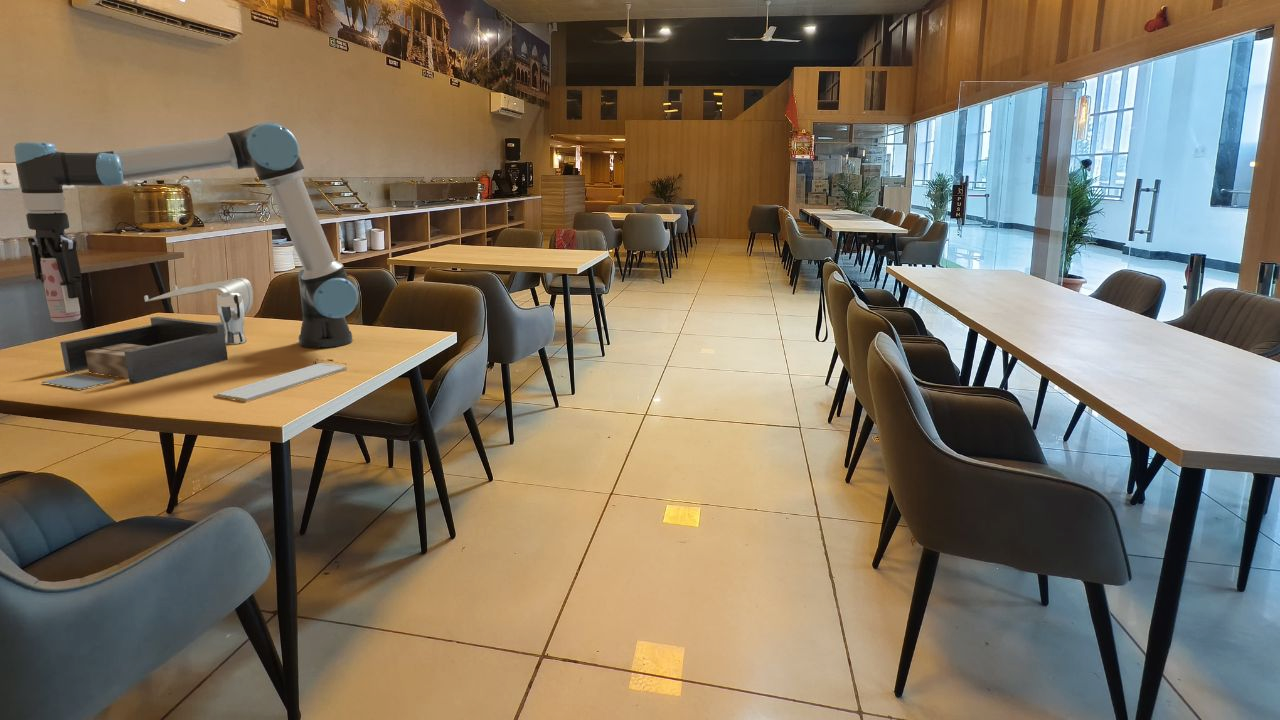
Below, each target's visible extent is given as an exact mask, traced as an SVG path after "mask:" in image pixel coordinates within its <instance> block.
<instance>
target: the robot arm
mask: <svg viewBox="0 0 1280 720" xmlns="http://www.w3.org/2000/svg"><path fill="white" fill-rule="evenodd" d="M13 151H14V158H15V167H16V170H17V175H18V179H19V180H18V181H19V185H20V189H21V195H22V201H23V205H24V206H23V208H24V210H25V211H27V213H26V214H25V217H26V221H27V223H26V224H27V226H28V229H29V230H31V231H32V230H33V231H35V237H28V238H27V242H28V246H29V247H30V253H31V258H32V264H33V265H32V266H33V270H34V276H35V279H36V280H38V281H41V283H42V284H43V286H44V288H45V285H44V279H43V274H42V268H41V263H40V262H41V258H42V257H43V258H53V257H54V258H56V262H57V265H58V270H59V272H60V275H61V278H62V281H63V283H60V285H61V287H62V293H63V298H64V304H65V309H66V313H70V312H77V311H80V312H81V307H80V301H79V295H78V289H77V284H78V283H80V282H83V278H82V277H83V276H82V271H81V266H80V262H79V257H78V252H77V251H78V250H77V240H76V239H69V238H68V237H67V235H66V233H65V230H68V229H70V221H69V216H68V214H67V212H64V211H65V210H67V206H66V202H65V201H66V198H65V195H64V189H63V186H66V187H67V186H69V187H70V186H87V187H88V186H90V187H91V186H93V187H96V186H97V187H98V186H99V187H100V186H101V187H103V186H104V187H112V186H113V187H116V186H122V185H123V184H124V181H133V180H137V179H138V180H139V179H140V180H141V179H146V178H147V179H148V178H156V177H163V176H168V175H169V176H170V175H175V174H176V175H177V174H184V173H191V172H199V171H207V170H213V169H220V168H229V167H231V168H233V169H235V170H242V169H243V170H244V169H254V171H255V172H256V175H257V177H258V180H259V182H260V183H262V184H264V185H266V186H267V187H268V188H269V190H270V192H271V193H270V194H271V195H272V198H273V200H274V202H275V204H276V206H277V209H278V212H279V213H280V217H281V219H282V221H283V223H284V226H285V228H286V231H287V233H288V235H289V237H290V239H291V240H290V241H291V242H292V244H293V247H294V249H295V251H296V254H297V256H298V259H299V261H300V264H301V266H302V268H301V269H300V270H299V271H298V279H297V281H298V283H299V293H300V294H299V295H300V302H301V303H300V304H301V309H302V310H301V312H302V323H301V327H300V334H299V335H298V344H299V346H300V345H301V347H303V346H305V348H310V347H319V348H318V349H320V347H323V349H324V347H325V348H333V347H334V346H335V347H340V346H344V345H348V344H351V343H352V342H353V340H354V339H353V333H352V331H351V330H350V327H349V325H348V322H347V319H346V316H348V315H350V314H351V313H352V312H353V311H354V310H355V308H356V307H357V305H358V301H359V294H358V291H357V288H356V286H355V284H354V283H352V281H350V278H349V277H348V274H347V272H346V269H345V266H344V264H343V263H341V262H338V260H336V259H335V257H334V254H333V252H332V250H331V249H332V248H331V247H330V245H329V241H328V240H327V236H326V234H325V232H324V229H323V227H322V225H321V222H320V220H319V217H318V215H317V213H316V210H315V208H314V205H313V202H312V199H311V197H310V196H309V193H308V190H307V188H306V186H305V183H304V180H303V175H304V172H305V171H306V169H305V167H304V165H303V162H302V159H301V157H300V146H299V143H298V140H297V138H296V137H295V135H294V134H293V132H292V131H290V130H289V129H288V128H286V126H285V127H284V126H283V125H281V124H278V123H274V122H262V123H259V124H257V125H253V126H251V127H248V128H246V129H241V130H237V131H233V132H226V133H224V134H223V136H222V137H218V138H217V137H215V138H207V139H199V140H190V141H183V142H175V143H173V142H172V143H168V144H167V143H166V144H158V145H150V146H142V147H135V148H133V147H132V148H125V149H117V150H110V151H109V150H108V151H99V152H66V151H65V152H64V151H63V152H62V151H58V149H57V148H56V145H55V144H54V143H52V142H51V143H50V142H23V141H22V142H17V143H15V144H14V146H13ZM44 290H45V289H44ZM44 292H45V297H46V298H47V295H46V290H45V291H44ZM46 301H47V300H46ZM46 303H47V304H48V301H47V302H46ZM47 308H48V309H49V306H48V305H47Z"/></svg>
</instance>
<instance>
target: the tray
mask: <svg viewBox="0 0 1280 720" xmlns="http://www.w3.org/2000/svg"><path fill="white" fill-rule="evenodd" d="M149 319H150V324H147V325H144V326H143V325H142V326H138V327H137V326H136V327H132V328H128V329H127V328H126V329H122V330H117V331H111V332H106V333H102V334H101V333H99V334H95V335H90V336H84V337H79V338H75V339H74V338H73V339H68V340H63V341H60V349H61V354H62V358H63V364H64V369H65V370H64V371H65V372H66V371H67V372H66V373H68V372H73V373H76V372H75V371H78V372H80V371H79V370H82V371H84V370H83V369H87V370H88V365H87V359H86V354H85V351H88V350H93V349H100V348H103V347H108V346H113V345H117V344H122V343H126V344H134V345H143V346H146V347H142V348H137V349H133V350H128V351H124V352H125V358H126V364H127V370H128V376H129V378H128V380H129V383H130V384H134V383H135V384H139V383H144V382H146V381H151V380H155V379H159V378H162V377H166V376H169V375H173V374H178V373H182V372H185V371H191V370H192V369H198V368H201V367H205V366H208V365H212V364H217V363H220V362H224V361H228V360H229V358H228V349H227V344H226V341H225V334H224V326H223V324H216V323H207V322H208V321H199V320H198V321H195V320H189V319H188V320H187V319H181V318H171V317H162V316H152V317H150V318H149ZM135 384H134V385H135Z"/></svg>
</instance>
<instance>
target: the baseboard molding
mask: <svg viewBox="0 0 1280 720" xmlns="http://www.w3.org/2000/svg"><path fill="white" fill-rule="evenodd" d="M317 361H318V359H317V358H316V361H315V360H314V361H313V365H309V366H305V367H302V368H299V369H295V370H293V371H290V372H285V373H283V374H279V375H276V376H272V377H269V378H265V379H262V380H259V381H256V382H252V383H249V384H245V385H243V386H239V387H236V388H231V389H228V390H226V391H222V392H219V393H217V394H214V395H213V397H214V396H216V397H215V398H219V397H222V398H221V399H225V398H228V399H227V400H230V399H235V400H234V401H236V400H241V401H240V402H242V401H248V402H250V401H249V400H252V399H255V400H257V399H256V398H258V399H260V398H259V397H261V398H263V397H262V396H264V397H266V396H265V395H267V396H270V395H273V394H276V393H279V392H278V391H280V392H282V391H281V390H283V391H285V390H284V389H286V390H288V389H287V388H289V387H292V388H294V387H293V386H295V385H298V384H301V383H304V382H307V381H311V380H314V379H316V378H320V377H323V376H326V375H329V376H331V375H330V374H332V375H334V374H333V373H335V374H337V373H336V372H339V371H342V372H344V371H343V370H345V371H347V370H348V367H347V366H346V365H345V363H343V362H342V363H341V364H344V365H337V364H338V362H336V361H335V363H336V364H332V363H331V362H333V359H327V360H326V362H330V363H331V364H328V363H323V362H324V360H322V359H321V362H320V363H317ZM322 361H323V362H322ZM346 369H347V370H346ZM339 373H340V372H339ZM326 377H327V376H326ZM323 378H324V377H323ZM320 379H321V378H320ZM314 381H315V380H314ZM311 382H312V381H311ZM307 383H308V382H307ZM304 384H305V383H304ZM301 385H302V384H301ZM298 386H299V385H298ZM295 387H296V386H295ZM289 389H290V388H289ZM275 392H276V393H275ZM272 393H273V394H272ZM269 394H270V395H269ZM252 401H253V400H252Z"/></svg>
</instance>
